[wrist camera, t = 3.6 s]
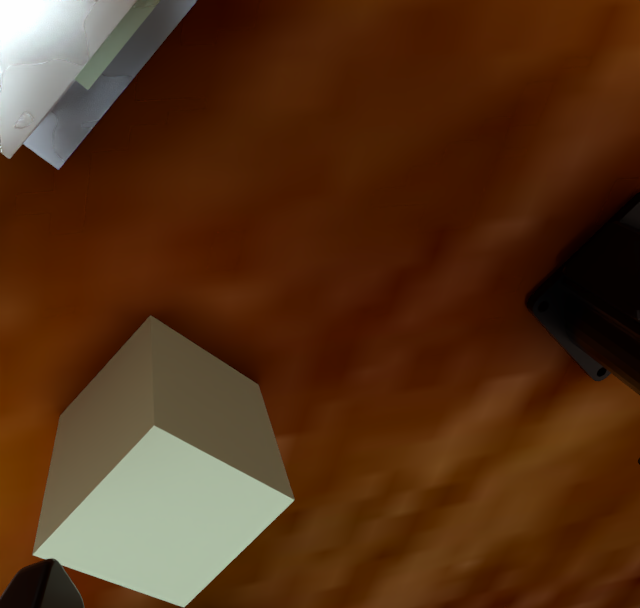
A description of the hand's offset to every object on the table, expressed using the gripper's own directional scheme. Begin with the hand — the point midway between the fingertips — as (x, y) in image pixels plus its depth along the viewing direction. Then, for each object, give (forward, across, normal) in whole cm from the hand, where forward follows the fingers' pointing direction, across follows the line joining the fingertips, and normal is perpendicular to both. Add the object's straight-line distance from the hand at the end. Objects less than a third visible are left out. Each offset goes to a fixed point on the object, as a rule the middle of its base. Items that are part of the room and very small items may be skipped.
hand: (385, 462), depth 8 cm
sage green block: (+12, +5, +6) cm, 15 cm away
